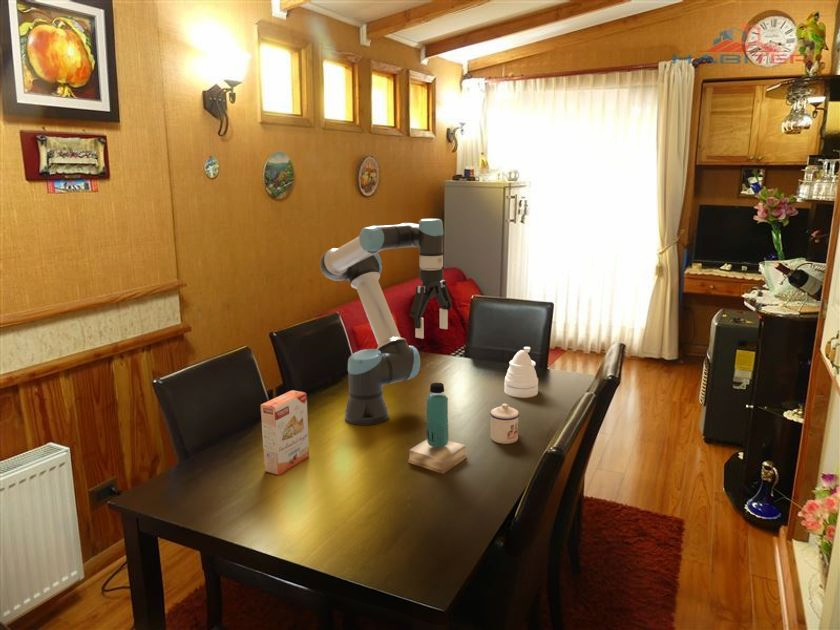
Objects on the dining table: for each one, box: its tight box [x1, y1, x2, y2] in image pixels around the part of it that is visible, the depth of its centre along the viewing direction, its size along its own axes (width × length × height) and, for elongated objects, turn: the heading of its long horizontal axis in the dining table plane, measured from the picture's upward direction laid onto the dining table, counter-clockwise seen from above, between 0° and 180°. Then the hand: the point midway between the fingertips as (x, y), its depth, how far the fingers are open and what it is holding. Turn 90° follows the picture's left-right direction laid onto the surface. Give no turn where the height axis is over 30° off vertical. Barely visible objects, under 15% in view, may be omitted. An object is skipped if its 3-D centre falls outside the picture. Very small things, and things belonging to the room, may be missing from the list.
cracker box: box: [260, 389, 310, 476], centre depth 183 cm, size 14×6×21 cm, turn 151°
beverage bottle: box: [426, 382, 450, 447], centre depth 183 cm, size 6×7×20 cm
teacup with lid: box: [490, 403, 520, 445], centre depth 201 cm, size 12×9×12 cm
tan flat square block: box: [407, 438, 467, 475], centre depth 186 cm, size 13×13×4 cm
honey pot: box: [503, 346, 539, 399], centre depth 240 cm, size 13×13×18 cm
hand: (431, 333), depth 203 cm, fingers open, 13 cm apart
